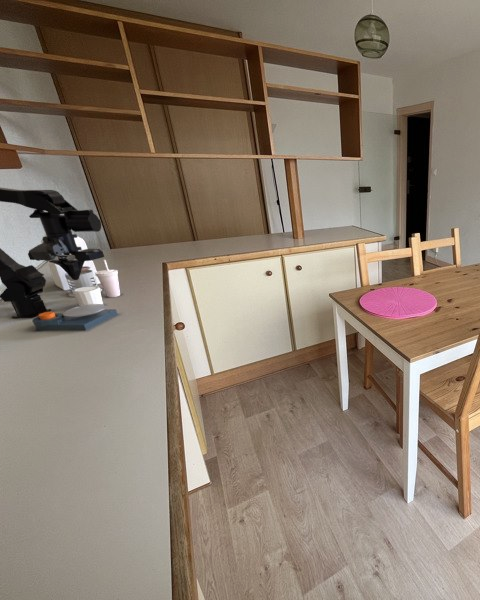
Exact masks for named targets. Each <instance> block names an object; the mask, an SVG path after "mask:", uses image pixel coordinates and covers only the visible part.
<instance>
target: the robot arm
mask: <svg viewBox="0 0 480 600" xmlns="http://www.w3.org/2000/svg"><path fill="white" fill-rule="evenodd" d="M0 202H1V203H10V204H11V203H12V204H16V205H21V206H22V207H23V206H24V207H25V208H27V209H33V212H32V213H31V214H30V215H29V218H31V219H39V221H40V222H41V225H42V228H43V230H44V234H45V233H46V236H45V237H44V236H42V238H43V243H40V244H38V245H36V246H34V247H32V248H31V249H29V250H28V252H27V256H28V259H29V260H30V261H38V262H39V261H45V262H48V261H49V262H51V263H55V264H57V265H59V266H60V267H62V268H63V269H64V270H65V271H66V273H67V274H68V275H69V276H70V277H71V278H72V279H73V280H78V279H79V277H80V273H81V270H82V267H83V264H84V262H85V261H91V260H93V261H94V260H98V259H102V258H105V253H104V252H103V250H101V249H100V248H88V249H85V250H82V249H81V247H77V245H76V243H75V240H74V238H77V236H78V235H77V234H76V233H92V232H93V233H97V232H98V233H99V232H100V231H101V229H102V221H101V220H100V219H99V216H98V215H96V214H95V213H94V210H93V209H83V210H82V209H77V208H76V207H74V205H72V204H71V203H70V202H68V201H67V200H66V199H65V197H64V196H63V194H61V193H60V192H59V191H57V190H54V189H17V188H16V189H15V188H7V187H0ZM73 232H74V233H73ZM79 250H81V251H79ZM71 254H72V255H71ZM44 276H45V274H44V273H42V272H40V271H39V270H38V269H37V268H36V266H34V265H33V264H30V265H27V266H26V265H23V264H20V263H18V262H17V261H16V260H15V259H14V258H12V257H11V256H10V255H9V254H8V253H7V252H5V251H4V250H3V249H2V248H1V247H0V281H1V283H2V284H3V285H4V286H5V288H4V290H3V291H2V292H1V294H0V299H1V300H2V301H3V302H4V303H8V302H10V304H11V305H12V308H13V310H14V312H15V314H14V315H11V316H10V317H11V318H12V319H34V318H37V317H39V316H38V315H39V314H41V313H45V312H52V308H47V307H46V304H45V302H44V300H43V299H42V297H41V295H40V294H41V293H42V294H43V293H44V287H45V286H46V282H47V279H46V278H45V277H44Z"/></svg>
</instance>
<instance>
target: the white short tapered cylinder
mask: <svg viewBox="0 0 480 600" xmlns="http://www.w3.org/2000/svg"><path fill="white" fill-rule="evenodd" d="M100 288H101V287H100V286H99V285H98V286H87V287H82V288H77V289H74V290H73V291H72V292H73V294H74V296H75V297H74V298H75V300H76V302H77V304H78V306H83V305H89V304H104V302H103V298H102V294H101V292H100Z"/></svg>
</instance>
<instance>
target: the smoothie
mask: <svg viewBox="0 0 480 600" xmlns="http://www.w3.org/2000/svg"><path fill="white" fill-rule="evenodd" d="M103 264H104V266H105V269H103V270H98V271H97V272H96V273H95V274H96V276H97V277H98V279H99V281H100V285H101V287H102V289H103V290H104V293H105V294H106V296H107V298H116V297H120V296H121V290H120V284H119V277H118V276H119V275H118V274H119V272H118V271H119V270H118V269H109V266H108V263H107V260H106V259H103Z"/></svg>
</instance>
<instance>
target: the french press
mask: <svg viewBox="0 0 480 600" xmlns="http://www.w3.org/2000/svg"><path fill="white" fill-rule="evenodd" d="M71 255H72V254H71ZM88 269H90V267H88V266H83V267H82V270H81V273H80V277H79V279H78V280H73V279H72V278H71V277H70V276H69V275H68V274H67V273H66V274H65V277H66V280H67V282H68V285H69V288H70V289H69V290H70V292H69V294H68V296H69V297H72V298H75V296H74V294H73V292H72V291H73V290H74V289H77V288H82V287H87V286H99V284H96V283H97V282H96V281H95V280H96V279H95V278H94V274H93V271H92V270H88ZM64 271H65V270H64ZM65 272H66V271H65ZM91 279H92V280H91ZM68 280H70V281H68ZM92 282H94V283H92ZM69 283H70V284H71V285H70V284H69ZM70 286H71V287H72V288H71V287H70ZM99 288H100V293H101V292H102V291H103V288H101V287H99Z"/></svg>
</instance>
